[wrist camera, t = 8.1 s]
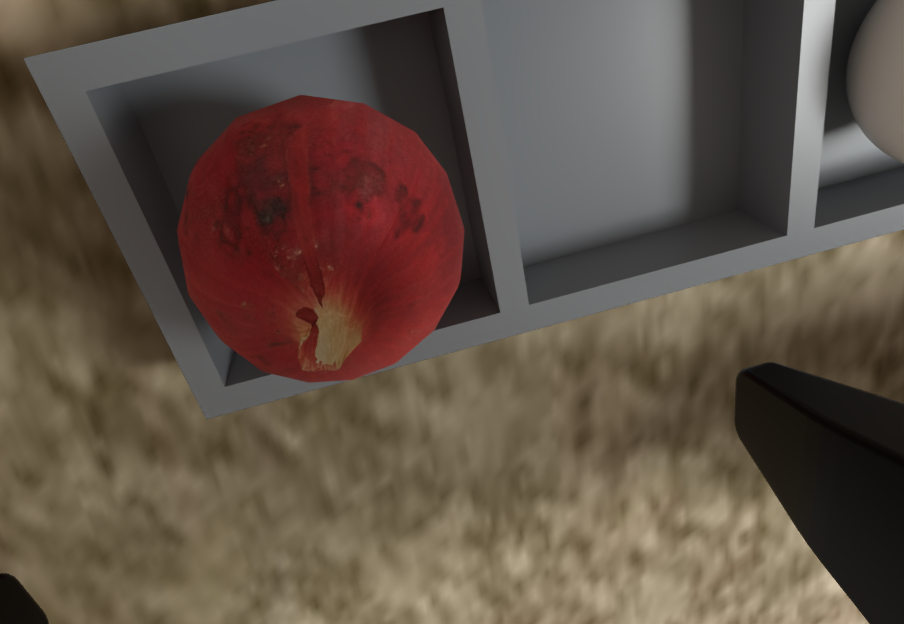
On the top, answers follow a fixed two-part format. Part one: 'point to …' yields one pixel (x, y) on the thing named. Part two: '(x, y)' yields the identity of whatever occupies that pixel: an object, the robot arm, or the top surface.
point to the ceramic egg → (879, 77)
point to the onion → (320, 239)
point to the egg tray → (502, 146)
